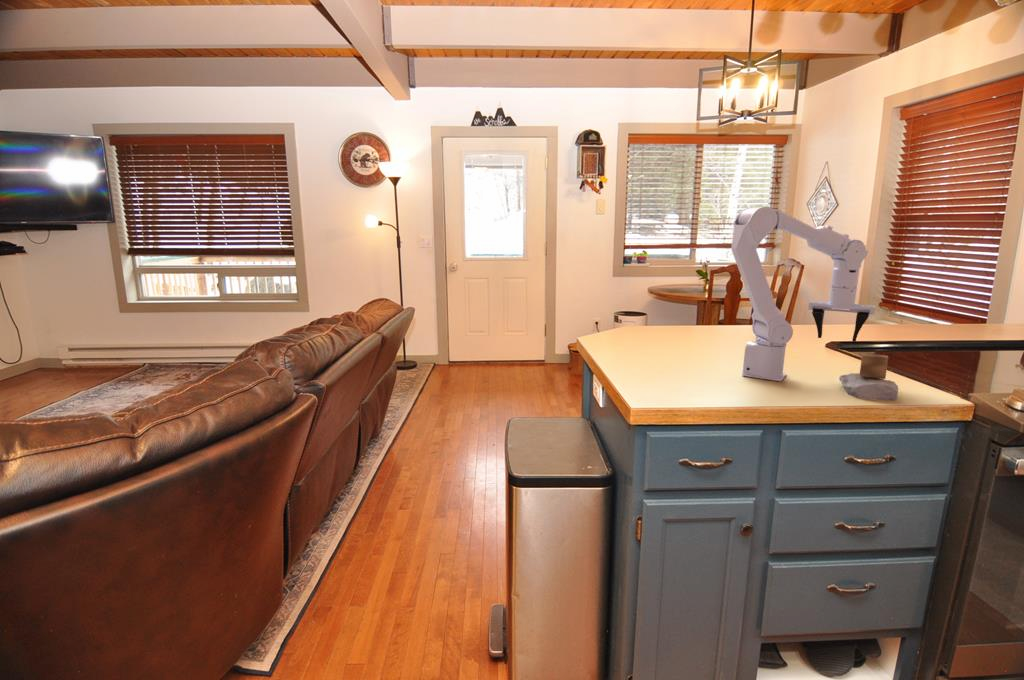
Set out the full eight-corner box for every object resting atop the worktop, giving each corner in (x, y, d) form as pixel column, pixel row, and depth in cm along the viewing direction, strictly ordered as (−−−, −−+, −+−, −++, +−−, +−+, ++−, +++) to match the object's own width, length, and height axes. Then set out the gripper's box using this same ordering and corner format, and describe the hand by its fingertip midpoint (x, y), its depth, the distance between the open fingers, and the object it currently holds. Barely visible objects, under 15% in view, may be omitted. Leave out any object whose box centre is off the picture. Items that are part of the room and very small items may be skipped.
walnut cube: (859, 375, 125) (862, 355, 124) (859, 373, 129) (862, 352, 128) (885, 379, 122) (888, 357, 121) (884, 376, 126) (887, 355, 126)
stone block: (854, 407, 121) (903, 401, 119) (852, 387, 121) (901, 380, 119) (833, 392, 133) (877, 387, 131) (831, 374, 132) (875, 368, 130)
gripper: (878, 287, 133) (870, 339, 136) (812, 283, 141) (807, 333, 144) (877, 290, 128) (869, 344, 131) (809, 286, 136) (803, 337, 139)
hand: (836, 339), depth 137 cm, fingers open, 7 cm apart
